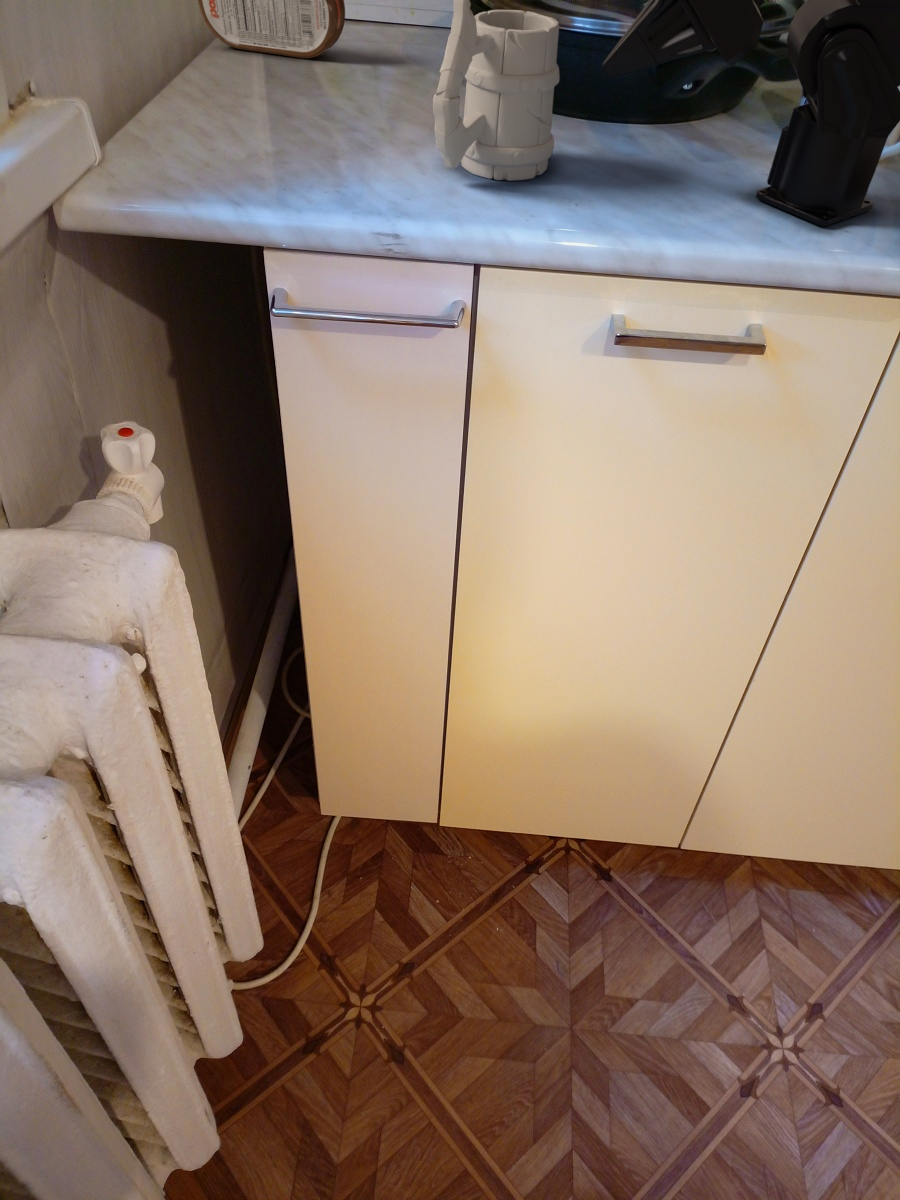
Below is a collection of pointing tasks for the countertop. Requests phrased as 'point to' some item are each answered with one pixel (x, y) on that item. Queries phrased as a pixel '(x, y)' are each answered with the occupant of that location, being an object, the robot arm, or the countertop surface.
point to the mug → (498, 93)
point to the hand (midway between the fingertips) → (605, 72)
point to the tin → (276, 24)
